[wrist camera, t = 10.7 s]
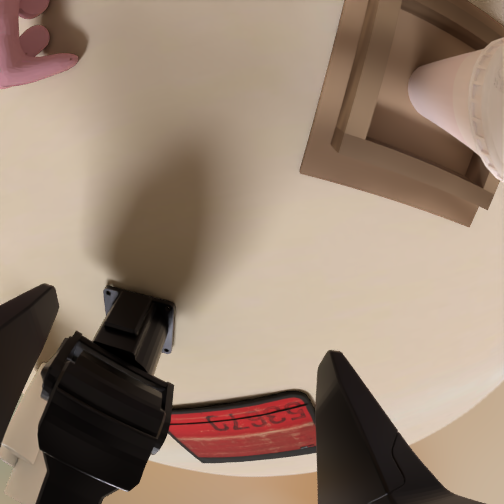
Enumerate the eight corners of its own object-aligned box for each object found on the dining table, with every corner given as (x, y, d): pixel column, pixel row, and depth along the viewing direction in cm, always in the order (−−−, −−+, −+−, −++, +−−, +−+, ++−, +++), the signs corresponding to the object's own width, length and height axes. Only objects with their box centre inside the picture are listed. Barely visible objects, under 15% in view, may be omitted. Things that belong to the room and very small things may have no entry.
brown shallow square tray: (466, 224, 20) (485, 243, 18) (299, 171, 19) (303, 186, 17) (521, 44, 12) (546, 45, 10) (356, -50, 11) (368, -67, 9)
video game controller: (55, -25, 13) (-23, -15, 8) (84, -51, 11) (-6, -47, 6) (57, 80, 18) (-24, 104, 13) (84, 67, 16) (-12, 90, 11)
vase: (96, 411, 39) (57, 522, 22) (63, 405, 40) (24, 504, 23) (56, 363, 33) (-3, 489, 16) (24, 359, 34) (-33, 468, 17)
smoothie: (466, 49, 13) (643, 73, 1) (472, 139, 17) (628, 238, 5) (381, 41, 14) (562, 15, 2) (392, 141, 17) (550, 262, 5)
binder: (333, 451, 37) (202, 465, 42) (332, 438, 39) (205, 453, 44) (303, 395, 30) (143, 415, 35) (302, 378, 32) (148, 401, 37)
